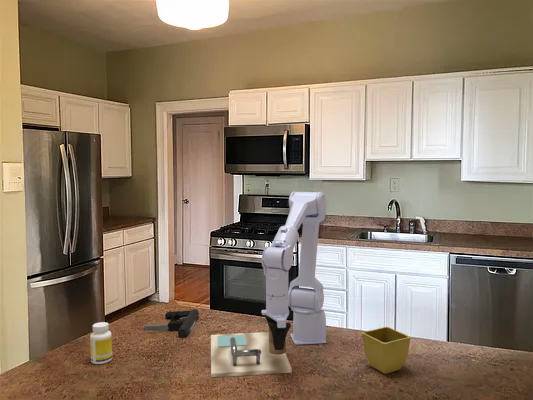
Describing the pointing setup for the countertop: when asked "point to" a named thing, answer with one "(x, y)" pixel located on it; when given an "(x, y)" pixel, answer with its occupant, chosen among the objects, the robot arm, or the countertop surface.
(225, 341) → the pad
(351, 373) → the countertop surface
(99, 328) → the supplement bottle
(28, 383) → the countertop surface
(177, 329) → the door handle
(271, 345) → the walnut cylinder
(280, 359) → the birch board
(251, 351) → the bent wire
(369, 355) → the flower pot
